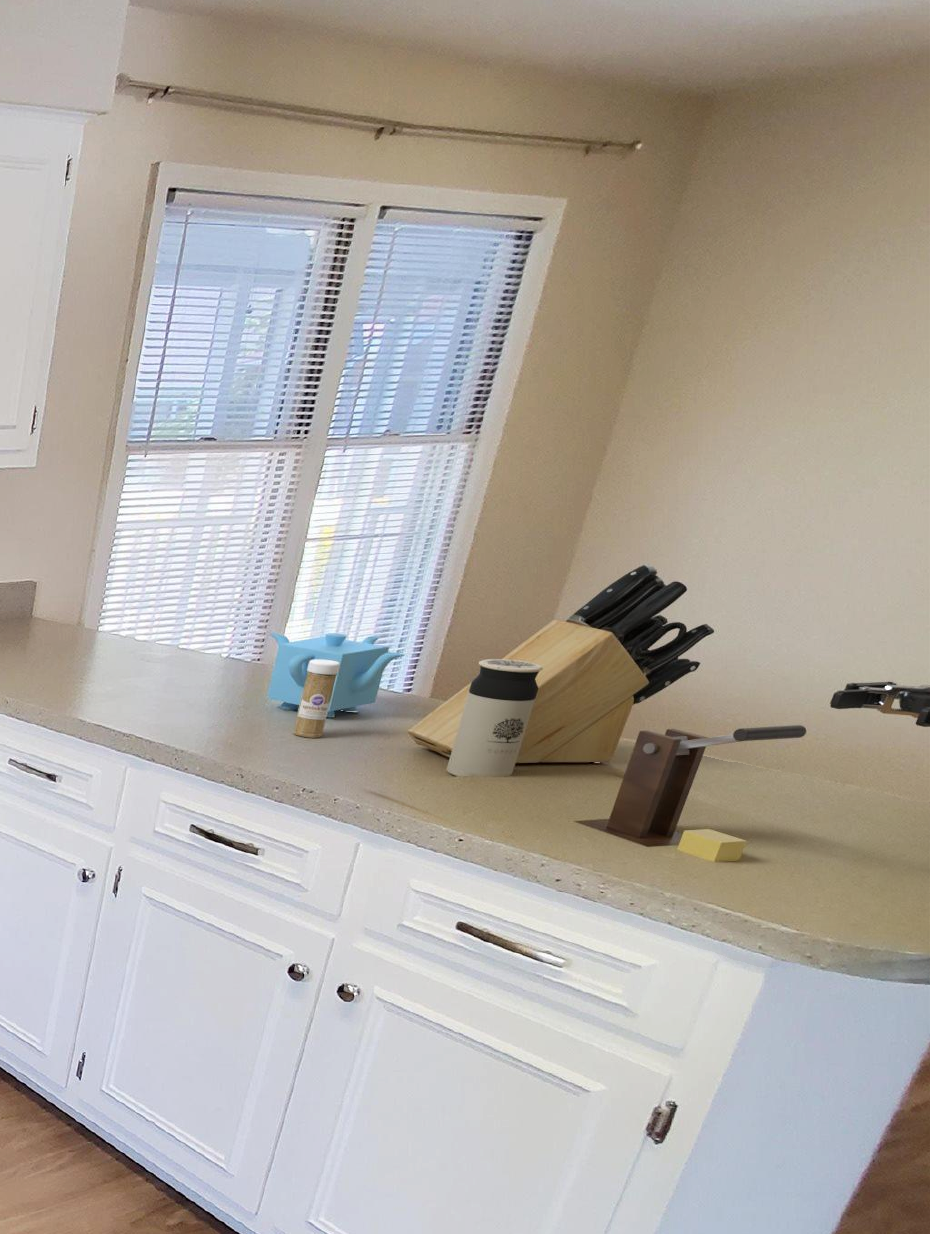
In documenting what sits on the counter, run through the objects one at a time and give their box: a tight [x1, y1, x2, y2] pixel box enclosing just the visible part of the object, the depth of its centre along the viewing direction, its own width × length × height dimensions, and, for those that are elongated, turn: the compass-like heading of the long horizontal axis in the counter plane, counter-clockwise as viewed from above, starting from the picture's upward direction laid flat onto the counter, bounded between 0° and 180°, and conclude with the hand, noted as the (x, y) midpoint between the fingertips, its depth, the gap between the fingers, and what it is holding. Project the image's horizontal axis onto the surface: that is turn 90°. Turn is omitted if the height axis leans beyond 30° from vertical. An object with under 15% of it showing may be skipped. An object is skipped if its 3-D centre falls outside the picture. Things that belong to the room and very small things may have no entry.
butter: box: [677, 828, 748, 863], centre depth 141 cm, size 7×7×4 cm
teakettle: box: [266, 632, 406, 717], centre depth 213 cm, size 19×19×15 cm
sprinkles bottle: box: [292, 659, 340, 739], centre depth 197 cm, size 5×5×14 cm
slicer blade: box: [674, 724, 807, 756], centre depth 140 cm, size 13×8×2 cm, turn 6°
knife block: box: [407, 563, 715, 764], centre depth 180 cm, size 11×35×31 cm, turn 88°
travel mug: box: [446, 658, 542, 778], centre depth 173 cm, size 8×8×18 cm
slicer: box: [573, 728, 709, 848], centre depth 147 cm, size 10×9×15 cm
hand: (877, 708), depth 135 cm, fingers open, 8 cm apart
